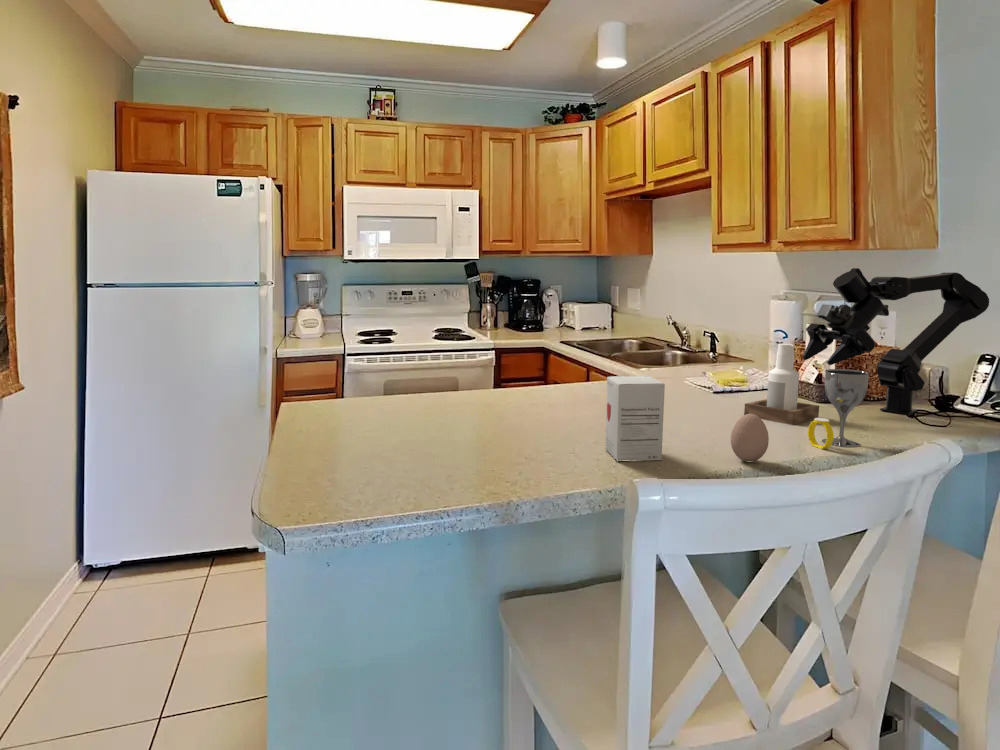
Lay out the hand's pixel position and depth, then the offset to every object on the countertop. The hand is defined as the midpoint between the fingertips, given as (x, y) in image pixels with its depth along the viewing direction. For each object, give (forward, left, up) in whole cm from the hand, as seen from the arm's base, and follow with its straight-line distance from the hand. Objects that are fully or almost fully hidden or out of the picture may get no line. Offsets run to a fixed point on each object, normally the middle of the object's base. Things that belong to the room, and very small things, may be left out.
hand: (815, 361), depth 159 cm
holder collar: (+8, -4, -14) cm, 16 cm away
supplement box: (+64, -3, -14) cm, 65 cm away
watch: (+29, +16, -14) cm, 36 cm away
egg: (+50, +13, -14) cm, 53 cm away
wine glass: (+22, +17, -14) cm, 31 cm away
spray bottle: (+8, -4, -14) cm, 16 cm away
